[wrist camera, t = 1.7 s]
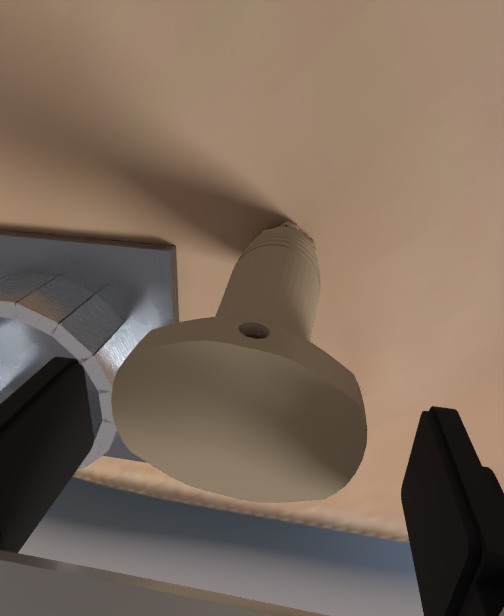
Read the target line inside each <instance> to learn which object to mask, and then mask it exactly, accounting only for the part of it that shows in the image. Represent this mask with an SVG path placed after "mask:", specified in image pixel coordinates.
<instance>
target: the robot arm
mask: <svg viewBox="0 0 504 616" xmlns="http://www.w3.org/2000/svg"><path fill="white" fill-rule="evenodd" d="M93 443H94V433H93V426H92V420H91V413H90V406H89V399H88V392H87V385H86V378H85V371H84V367H83V366H82V365H80V364H79V362H78V360H77V359H73V358H65V357H54V358H52V359H51V360H50V361H49V362H48V363H47V364H46V365H44V366H43V367H42V368H41V369H40V370H39V371H38V372H36V373H35V374H34V375H33V376H32V377H31V378H30V379H28V380H27V381H26V382H25V383H24V384H23V385H21V386H20V387H19V388H18V389H17V390H16V391H15V392H13V393H12V394H11V395H10V396H9V397H8V398H7V399H5V400H4V401H3V402H2V403H1V404H0V616H328V615H323V614H318V613H313V612H308V611H304V610H299V609H294V608H289V607H284V606H280V605H275V604H270V603H265V602H260V601H255V600H250V599H245V598H241V597H236V596H231V595H226V594H221V593H216V592H211V591H206V590H201V589H196V588H191V587H186V586H181V585H176V584H171V583H167V582H161V581H156V580H151V579H146V578H141V577H136V576H131V575H126V574H121V573H116V572H111V571H106V570H101V569H96V568H91V567H86V566H80V565H75V564H70V563H65V562H60V561H55V560H49V559H44V558H39V557H34V556H29V555H24V554H19V553H18V552H19V550H20V549H21V548H22V546H23V545H24V543H25V542H26V541H27V539H28V538H29V536H30V535H31V533H32V532H33V531H34V529H35V528H36V527H37V525H38V523H39V522H40V521H41V520H42V518H43V517H44V515H45V514H46V513H47V511H48V510H49V508H50V507H51V506H52V504H53V503H54V501H55V500H56V498H57V497H58V496H59V494H60V493H61V491H62V490H63V489H64V487H65V486H66V484H67V483H68V482H69V480H70V479H71V477H72V476H73V475H74V473H75V472H76V470H77V469H78V468H79V466H80V465H81V463H82V462H83V461H84V459H85V458H86V456H87V455H88V454H89V452H90V451H91V449H92V447H93ZM401 500H402V505H403V511H404V516H405V521H406V526H407V531H408V536H409V541H410V546H411V551H412V556H413V561H414V566H415V572H416V577H417V581H418V587H419V592H420V596H421V602H422V607H423V612H424V616H504V493H503V491H502V489H501V486H500V484H499V482H498V480H497V478H496V476H495V474H494V473H493V471H492V470H491V469H490V468H488V467H483V466H482V465H481V463H480V461H479V458H478V456H477V454H476V452H475V450H474V447H473V445H472V443H471V441H470V438H469V436H468V434H467V432H466V429H465V427H464V425H463V423H462V420H461V418H460V416H459V414H458V412H457V410H455V409H449V408H442V407H434V406H432V407H431V408H430V410H429V411H423V412H422V414H421V417H420V421H419V425H418V428H417V432H416V436H415V439H414V443H413V447H412V451H411V454H410V458H409V462H408V466H407V469H406V473H405V477H404V480H403V484H402V490H401Z"/></svg>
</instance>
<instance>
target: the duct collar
mask: <svg viewBox="0 0 504 616" xmlns="http://www.w3.org/2000/svg"><path fill="white" fill-rule="evenodd" d="M175 323H179V312H178V287H177V262H176V246H171V245H160V244H149V243H138V242H127V241H117V240H106V239H95V238H84V237H73V236H62V235H51V234H40V233H29V232H19V231H8V230H0V404H1V403H2V402H3V401H4V400H5V399H7V398H8V397H9V396H10V395H11V394H12V393H13V392H15V391H16V390H17V389H18V388H19V387H20V386H21V385H23V384H24V383H25V382H26V381H27V380H28V379H30V378H31V377H32V376H33V375H34V374H35V373H36V372H38V371H39V370H40V369H41V368H42V367H43V366H44V365H46V364H47V363H48V362H49V361H50V360H51V359H52V358H54V357H65V358H73V359H77V360H78V362H79V364H80V365H82V366H83V367H84V371H85V378H86V385H87V392H88V399H89V406H90V413H91V420H92V426H93V433H94V443H93V447H92V449H91V451H90V452H89V454H88V455H87V456H86V458H85V459H84V461H83V462H82V463H81V465H80V466H79V468H78V469H80V468H85V467H87V466H88V465H90V464H91V463H93V462H94V461H95V460H97V459H98V458H100V457H101V456H102V455H103V456H109V457H115V458H121V459H128V460H134V461H140V462H146V461H145V460H143V459H141V458H140V457H138V456H137V455H135V454H133V453H132V452H130V451H129V449H128V448H127V447H126V445H125V444H124V442H123V441H122V439H121V437H120V435H119V433H118V431H117V429H116V426H115V422H114V419H113V415H112V404H111V397H112V387H113V382H114V379H115V376H116V373H117V370H118V369H119V367H120V366H121V364H122V363H123V362H124V360H125V359H126V358H127V356H128V355H129V354H130V353H131V351H132V350H133V349H134V348H135V346H136V345H137V344H138V343H139V342H140V341H141V340H142V339H143V338H144V337H145V336H146V334H147V333H149V332H150V331H151V330H153V329H156V328H160V327H163V326H167V325H171V324H175ZM146 463H148V462H146Z"/></svg>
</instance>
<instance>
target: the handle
mask: <svg viewBox="0 0 504 616" xmlns="http://www.w3.org/2000/svg"><path fill="white" fill-rule="evenodd" d="M319 293H320V268H319V262H318V257H317V254H316V248H315V244H314V241H313V239H312V238H309V237H307V236H306V235H304V234H303V233H302V232H301V231H300V230H299V228H298V227H297V224H296V223H294V222H290V221H286V222H284V223H283V224H282V225H281V226H279V227H274V228H271V229H265V230H263V231H262V232H261V233H260V234H259V235H258V237H256V238H255V239H254V240H253V241H252V242H251V243H250V245H249V246H248V247H247V248H246V249H245V250H244V252H243V253H242V255H241V256H240V258H239V260H238V261H237V263H236V265H235V267H234V269H233V272H232V274H231V277H230V279H229V282H228V285H227V288H226V290H225V293H224V296H223V298H222V301H221V304H220V306H219V309H218V311H217V314H216V316H215V317H211V318H201V319H196V320H190V321H184V322H180V323H175V324H171V325H167V326H163V327H160V328H156V329H153V330H151V331H150V332H149V333H147V334H146V336H145V337H144V338H143V339H142V340H141V341H140V342H139V343H138V344H137V345H136V346H135V348H134V349H133V350H132V351H131V353H130V354H129V355H128V356H127V358H126V359H125V360H124V362H123V363H122V364H121V366H120V367H119V369H118V370H117V373H116V376H115V379H114V382H113V387H112V397H111V404H112V415H113V419H114V422H115V426H116V429H117V431H118V433H119V435H120V437H121V439H122V441H123V442H124V444H125V445H126V447H127V448H128V449H129V451H130V452H132V453H133V454H135V455H137V456H138V457H140V458H141V459H143V460H145V461H146V462H148V463H149V464H151V465H152V466H154V467H156V468H157V469H159V470H161V471H162V472H164V473H166V474H167V475H169V476H171V477H173V478H175V479H177V480H179V481H181V482H183V483H185V484H187V485H189V486H192V487H196V488H199V489H202V490H205V491H209V492H213V493H217V494H221V495H225V496H229V497H233V498H237V499H241V500H247V501H253V502H263V503H280V502H297V501H309V500H322V499H326V498H328V497H330V496H331V495H333V494H335V493H336V492H338V491H339V490H340V489H342V488H343V487H344V486H346V485H347V483H348V482H349V481H350V480H351V478H352V477H353V476H354V475H355V473H356V471H357V469H358V467H359V465H360V463H361V461H362V459H363V455H364V452H365V448H366V444H367V423H366V415H365V409H364V403H363V399H362V395H361V391H360V388H359V385H358V383H357V381H356V378H355V376H354V374H353V373H352V372H350V371H349V370H348V369H347V368H345V367H344V366H343V365H342V364H340V363H339V362H338V361H337V360H335V359H334V358H333V357H331V356H330V355H329V354H327V353H326V352H324V351H323V350H321V349H320V348H319V347H317V346H316V345H314V344H313V343H311V342H310V339H311V333H312V328H313V323H314V318H315V313H316V308H317V304H318V299H319Z"/></svg>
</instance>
